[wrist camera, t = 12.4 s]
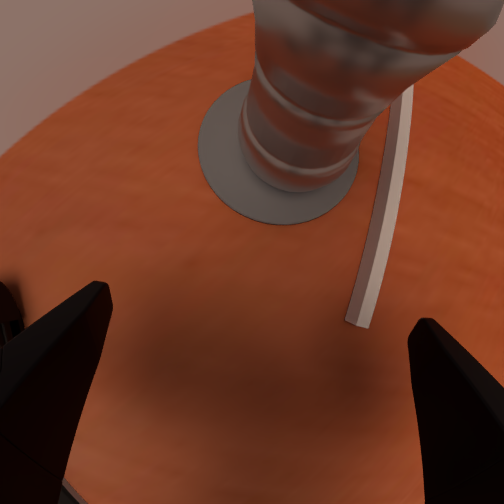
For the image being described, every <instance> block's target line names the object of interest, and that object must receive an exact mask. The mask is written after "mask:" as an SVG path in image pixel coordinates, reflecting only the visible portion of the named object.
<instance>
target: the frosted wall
mask: <svg viewBox="0 0 504 504" xmlns="http://www.w3.org/2000/svg"><path fill="white" fill-rule="evenodd" d="M413 86H414V84H413V85H411V86H410V87H409V88H407V89H406V90H405V91H404V92H403V93H402V94H401V95H400V96H399V97H398V98H397V99H395V100H394V101H393V102H392V103H391V108H390V115H389V123H388V130H387V137H386V143H385V149H384V155H383V161H382V167H381V173H380V178H379V183H378V188H377V194H376V198H375V203H374V208H373V213H372V217H371V222H370V226H369V231H368V235H367V239H366V243H365V247H364V251H363V255H362V259H361V263H360V267H359V271H358V275H357V278H356V282H355V286H354V289H353V293H352V296H351V300H350V303H349V307H348V310H347V313H346V317H345V321H347V322H349V323H352V324H354V325H356V326H360V327H364V328H369V325H370V322H371V318H372V315H373V312H374V308H375V305H376V301H377V298H378V294H379V290H380V287H381V283H382V279H383V275H384V271H385V267H386V263H387V259H388V255H389V251H390V246H391V242H392V237H393V232H394V228H395V223H396V218H397V213H398V207H399V202H400V196H401V191H402V185H403V178H404V172H405V165H406V158H407V150H408V142H409V133H410V124H411V113H412V101H413Z"/></svg>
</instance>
